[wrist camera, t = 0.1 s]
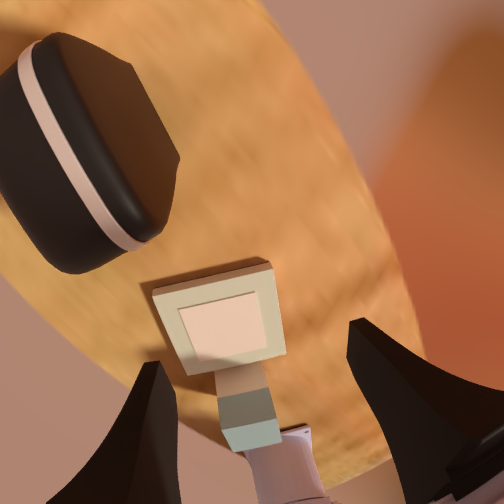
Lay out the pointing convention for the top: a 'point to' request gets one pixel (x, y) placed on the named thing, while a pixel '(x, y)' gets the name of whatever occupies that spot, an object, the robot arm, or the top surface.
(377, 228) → the top surface
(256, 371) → the brick stack
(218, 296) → the plate
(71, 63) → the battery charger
